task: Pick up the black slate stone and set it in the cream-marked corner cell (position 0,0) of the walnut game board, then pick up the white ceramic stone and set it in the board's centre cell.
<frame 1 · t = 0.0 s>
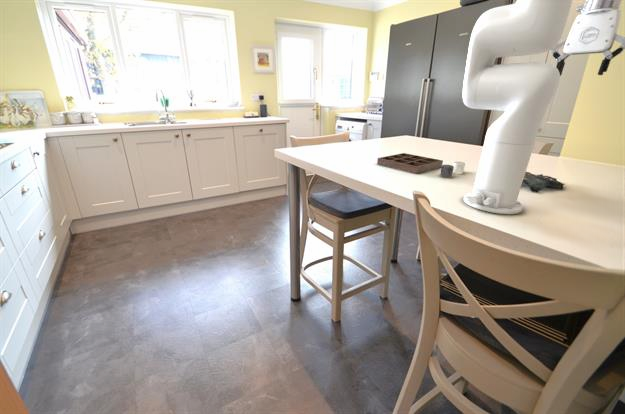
hand: (578, 75, 85), 31 cm above the table, tool pointing down, fingers open, 9 cm apart
board: (409, 165, 107), on the table
black stone: (445, 176, 94), on the table
decorative rock: (530, 184, 88), on the table
white stone: (457, 172, 99), on the table
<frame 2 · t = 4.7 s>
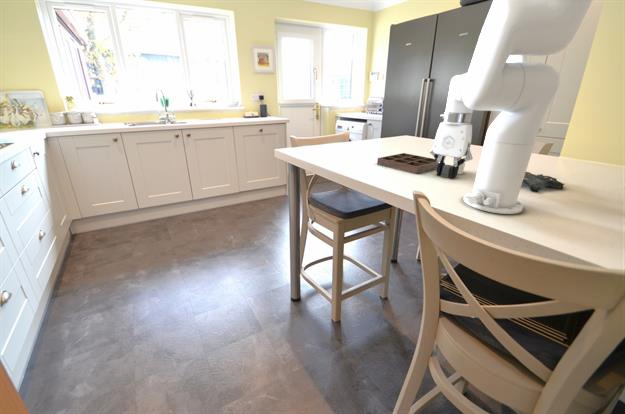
hand: (446, 175, 94), 0 cm above the table, tool pointing down, fingers closed on black stone, 3 cm apart
black stone: (445, 176, 94), on the table, touching gripper
everything else where it was.
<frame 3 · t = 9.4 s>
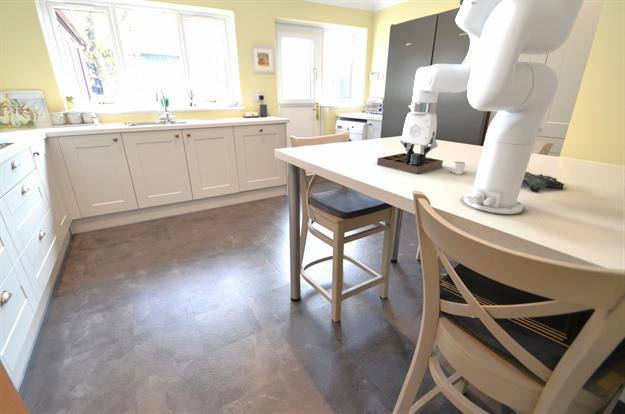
hand: (414, 163, 99), 3 cm above the table, tool pointing down, fingers closed on black stone, 3 cm apart
black stone: (414, 164, 99), point 2 cm above the table, touching gripper
everything else where it was.
when the fingers open (3 cm above the table, at t = 12.2 s): black stone drops 2 cm, resting on board.
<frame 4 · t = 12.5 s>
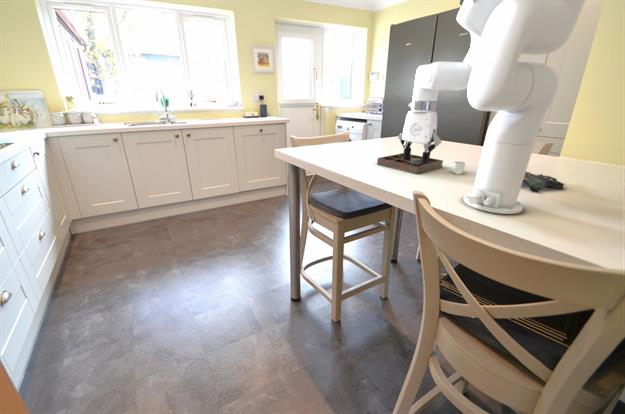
hand: (415, 160, 99), 4 cm above the table, tool pointing down, fingers open, 6 cm apart
black stone: (414, 169, 100), point 1 cm above the table, touching board
everything else where it was.
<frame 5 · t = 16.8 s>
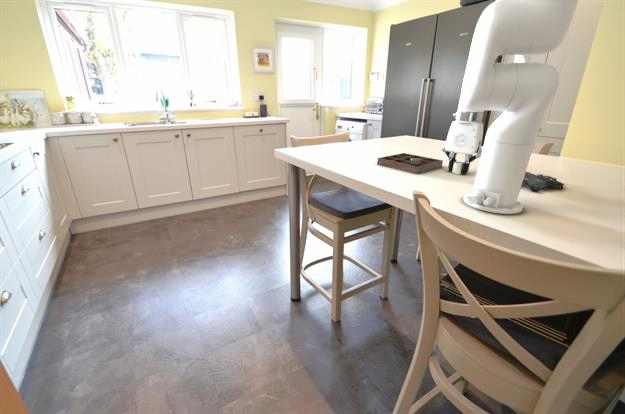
hand: (457, 172, 99), 0 cm above the table, tool pointing down, fingers closed on white stone, 3 cm apart
white stone: (457, 172, 99), on the table, touching gripper
everything else where it was.
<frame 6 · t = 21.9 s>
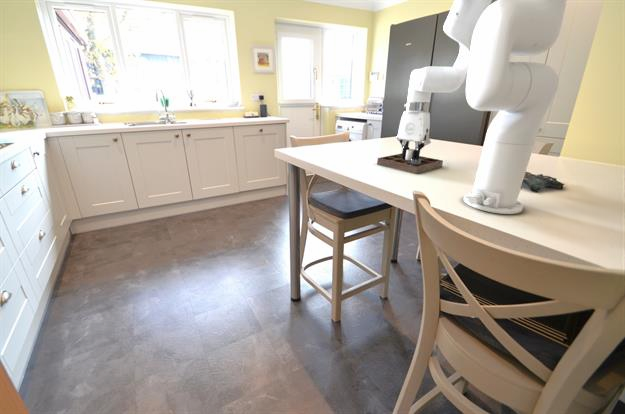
hand: (409, 158, 106), 3 cm above the table, tool pointing down, fingers closed on white stone, 3 cm apart
white stone: (409, 159, 107), point 2 cm above the table, touching gripper
everything else where it was.
when the fingers open (3 cm above the table, at t = 24.8 s): white stone drops 2 cm, resting on board.
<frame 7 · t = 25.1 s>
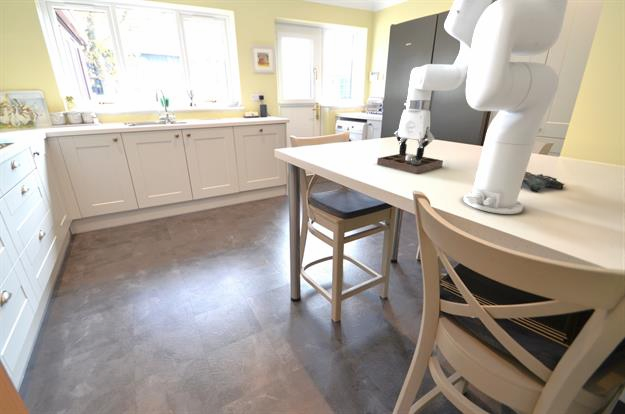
hand: (410, 156, 106), 4 cm above the table, tool pointing down, fingers open, 6 cm apart
white stone: (409, 164, 107), point 1 cm above the table, touching board
everything else where it was.
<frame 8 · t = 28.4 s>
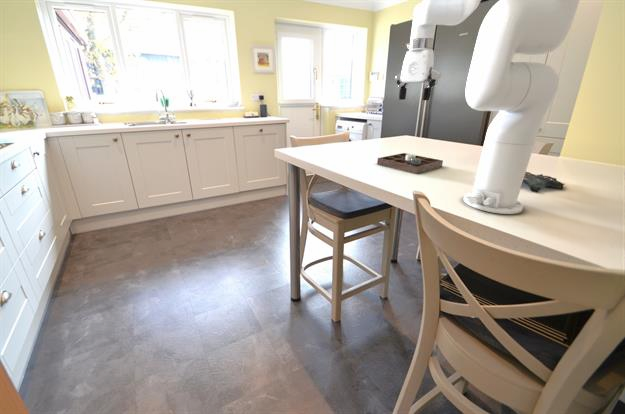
hand: (413, 99, 103), 23 cm above the table, tool pointing down, fingers open, 9 cm apart
nothing on the table moved.
at the end: black stone 0.2 cm from the target spot in the board, point 0.7 cm above the board's base; white stone 0.1 cm off-centre in the board, point 0.5 cm above the board's base; white stone tilted 0° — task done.
